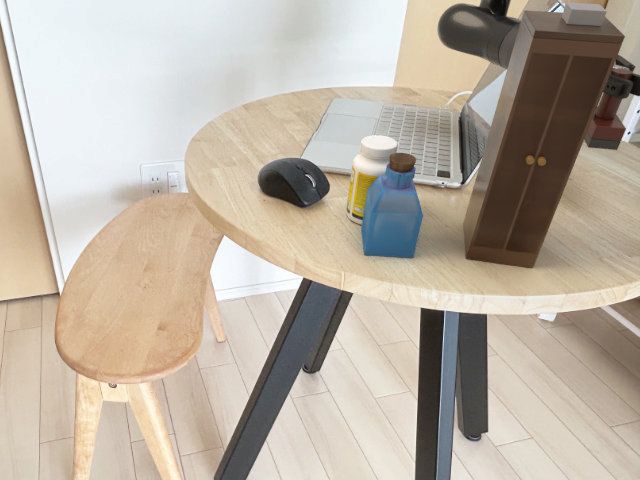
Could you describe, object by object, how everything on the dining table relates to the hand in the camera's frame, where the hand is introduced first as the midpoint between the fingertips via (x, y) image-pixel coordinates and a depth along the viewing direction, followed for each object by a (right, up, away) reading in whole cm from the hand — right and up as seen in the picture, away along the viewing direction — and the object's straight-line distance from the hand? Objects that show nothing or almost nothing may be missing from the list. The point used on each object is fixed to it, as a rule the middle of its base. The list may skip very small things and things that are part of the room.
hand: (637, 89), depth 73 cm
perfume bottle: (-32, -20, +2) cm, 37 cm away
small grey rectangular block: (-16, +2, -14) cm, 22 cm away
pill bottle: (-33, -15, +8) cm, 37 cm away
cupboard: (-17, -20, +2) cm, 26 cm away
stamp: (-1, -4, +7) cm, 8 cm away
